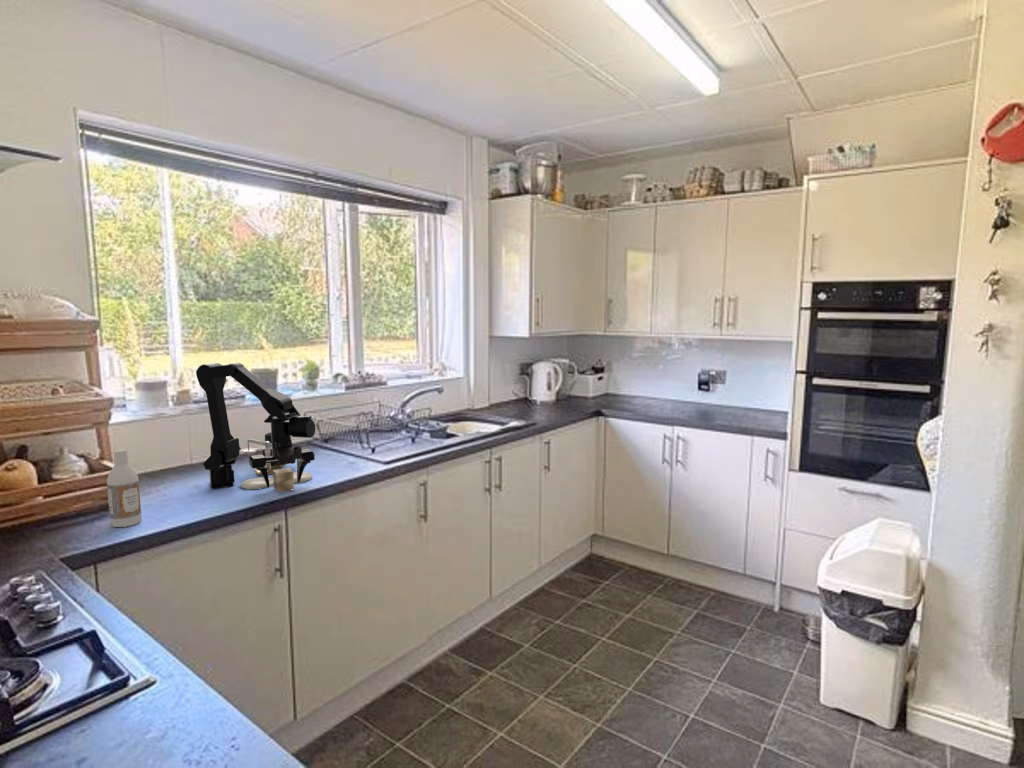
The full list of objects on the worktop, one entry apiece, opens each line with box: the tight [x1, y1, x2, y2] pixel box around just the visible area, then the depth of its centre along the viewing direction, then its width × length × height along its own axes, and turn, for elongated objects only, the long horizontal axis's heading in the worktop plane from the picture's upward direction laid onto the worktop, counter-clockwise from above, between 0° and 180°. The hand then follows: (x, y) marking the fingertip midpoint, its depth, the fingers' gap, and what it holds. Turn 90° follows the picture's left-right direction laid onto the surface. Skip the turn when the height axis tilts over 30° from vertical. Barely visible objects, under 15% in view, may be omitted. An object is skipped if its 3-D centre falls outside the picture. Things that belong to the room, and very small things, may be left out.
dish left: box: [240, 477, 274, 490], centre depth 190 cm, size 10×10×1 cm
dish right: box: [293, 471, 313, 484], centre depth 196 cm, size 10×10×1 cm
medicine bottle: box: [262, 431, 286, 468], centre depth 214 cm, size 7×7×12 cm
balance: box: [239, 438, 283, 477], centre depth 204 cm, size 18×6×13 cm, turn 124°
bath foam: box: [106, 448, 143, 528], centre depth 154 cm, size 7×7×20 cm
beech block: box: [272, 467, 295, 493], centre depth 185 cm, size 5×5×6 cm
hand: (283, 484), depth 186 cm, fingers open, 9 cm apart
